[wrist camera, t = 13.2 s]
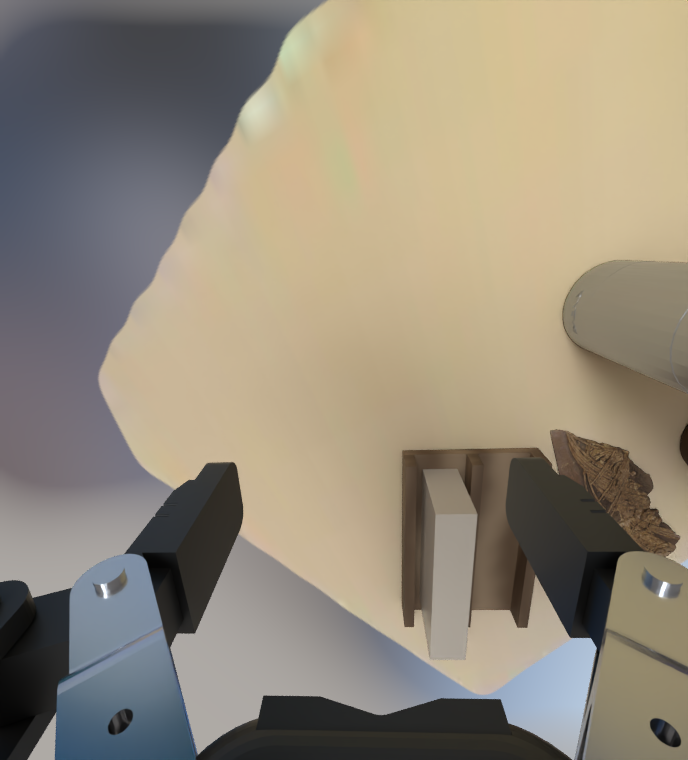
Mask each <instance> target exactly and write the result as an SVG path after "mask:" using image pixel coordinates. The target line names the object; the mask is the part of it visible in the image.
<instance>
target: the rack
mask: <svg viewBox="0 0 688 760" xmlns="http://www.w3.org/2000/svg"><path fill="white" fill-rule="evenodd" d="M530 457H541V458H543V459H544V460H545V461H546V462H547V463H548V464H549V465H550V466H551V467H552V463H551V462H550V461H549V460H548V459H547V458H546V457H545V456H544V455H543V453H542V452H541V451H540V450H539V449H538V448H511V449H460V450H410V451H403V469H402V609H403V617H404V626H405V627H414V610H421V604H420V558H421V518H422V478H423V469H458V472H459V474H460V476H461V478H462V480H463V483H464V485H465V487H466V489H467V492H468V494H469V496H470V498H471V501H472V503H473V505H474V507H475V510H476V512H477V526H476V538H475V550H474V562H473V574H472V587H471V599H470V611H469V623H468V627H470V623H471V611H472V610H510V611H511V613H512V615H513V618H514V620H515V623H516V625H517V627H518V628H527V626H528V619H529V612H530V606H531V599H532V593H533V586H534V580H535V572H534V570H533V569H532V567H531V565H530V563H529V561H528V559H527V558H526V556H525V554H524V552H523V550H522V548H521V547H520V545H519V543H518V541H517V539H516V537H515V535H514V534H513V532H512V530H511V528H510V526H509V523H508V520H507V516H506V495H507V486H508V477H509V468H510V463H511V460H512V459H513V458H530Z"/></svg>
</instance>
